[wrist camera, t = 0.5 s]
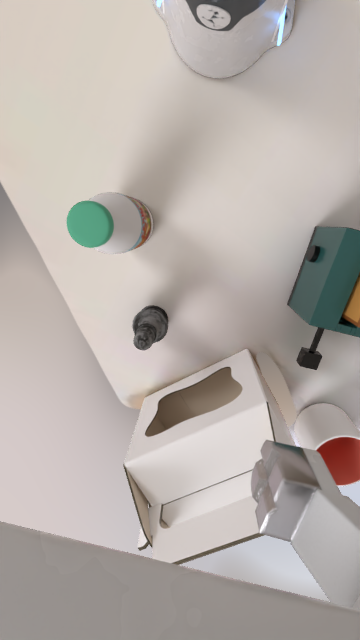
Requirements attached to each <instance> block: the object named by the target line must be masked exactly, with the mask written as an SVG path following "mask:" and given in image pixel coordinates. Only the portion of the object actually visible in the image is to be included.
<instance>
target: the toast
mask: <svg viewBox="0 0 360 640" xmlns="http://www.w3.org/2000/svg"><path fill="white" fill-rule="evenodd" d="M342 317H344V318H345V319H347V320H348V321H350V322H351V323H353V324H354V325H356V326H357V327H360V273H359V275H358V278H357V280H356V283H355V285H354V287H353V290H352V292H351V294H350V297H349V299H348V301H347V304H346V306H345V309H344V311H343V313H342Z"/></svg>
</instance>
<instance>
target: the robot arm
mask: <svg viewBox="0 0 360 640" xmlns="http://www.w3.org/2000/svg"><path fill="white" fill-rule="evenodd" d="M152 1H153V5H154V7H155V9H156V11H157V12H158V13H159V15H160V16H161V17H162V19H163V20H164V21H165V22H166V24H167V27H168V30H169V33H170V36H171V40H172V42H173V45H174V47H175V49H176V51H177V53H178V54H179V56H180V57H181V59H182V60H183V61H184V62H185V63H186V64H187V66H189V67H190V68H191V69H192V70H194V71H195V72H197V73H199V74H201V75H203V76H206V77H211V78H227V77H231V76H234V75H237V74H239V73H241V72H243V71H245V70H246V69H248V68H249V67H250V66H251V65H253V64H254V63H255V62H256V61H257V60H258V59H259V58H260V56H261V55H262V54H263V53H264V52H265V51H267V50H268V49H270V48H272V47H275V46H277V45H278V46H280V44H281V43H283V42H284V41H285V40H287V39H288V37H289V35H290V33H291V29H292V24H293V16H294V8H295V0H152ZM285 17H286V20H284V19H285ZM260 451H261V455H262V459H260V460H259V461H257V462H256V463H255V466H254V468H253V471H252V477H251V492H252V497H253V498H254V499H255V501H256V502H257V503H258V505H257V507H256V510H255V513H256V518H257V523H258V528H259V533H260V534H264V535H267V536H271V537H274V538H278V539H282V540H285V541H289V542H291V545H292V546H293V548H294V550H295V551H296V552H297V554H298V555H299V557H300V558H301V560H302V561H303V563H304V564H305V566H306V567H307V568H308V570H309V571H310V573H311V574H312V576H313V577H314V579H315V580H316V582H317V583H318V584H319V586H320V587H321V589H322V590H323V592H324V593H325V595H326V596H327V598H328V599H329V600H330V602H328V601H324V600H320V599H315V598H311V597H307V596H303V595H298V594H295V593H291V592H286V591H282V590H278V589H274V588H270V587H266V586H261V585H257V584H253V583H249V582H245V581H241V580H237V579H233V578H229V577H225V576H221V575H217V574H213V573H209V572H205V571H201V570H196V569H192V568H188V567H184V566H180V565H176V564H172V563H168V562H164V561H160V560H156V559H152V558H148V557H144V556H140V555H136V554H132V553H128V552H124V551H119V550H115V549H111V548H107V547H103V546H99V545H94V544H91V543H87V542H83V541H78V540H74V539H70V538H66V537H62V536H58V535H54V534H50V533H45V532H41V531H37V530H33V529H29V528H25V527H21V526H17V525H13V524H8V523H5V522H1V521H0V640H360V507H359V506H358V505H357V504H355V503H354V502H353V501H352V500H351V499H350V498H349V497H347V496H343V495H342V494H341V492H340V490H339V488H338V487H337V485H336V483H335V481H334V479H333V477H332V475H331V473H330V472H329V470H328V468H327V466H326V464H325V462H324V460H323V458H322V457H321V455H320V453H319V452H317V451H316V450H311V449H307V448H302V447H296V446H292V445H288V444H283V443H279V442H275V441H270V440H266V441H265V442H264V443H263V446H262V448H261V450H260Z"/></svg>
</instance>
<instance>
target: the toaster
mask: <svg viewBox="0 0 360 640" xmlns="http://www.w3.org/2000/svg"><path fill="white" fill-rule="evenodd" d="M359 273H360V231H359V230H355V229H351V228H346V227H317V226H316V227H315V229H314V232H313V235H312V237H311V240H310V243H309V246H308V248H307V251H306V254H305V257H304V259H303V262H302V265H301V268H300V271H299V273H298V276H297V279H296V282H295V284H294V287H293V290H292V293H291V295H290V298H289V301H288V304H287V305H289V306H290V307H291V308H292V309H293V310H294V311H295V312H296V313H297V314H298V315H299V316H300V317H301V318H302V319H303V320H305V321H306V322H307V323H308V324H309V325H312V326H316V327H320V328H324V329H328V330H332V331H336V332H340V333H344V334H348V335H352V336H356V337H360V327H357V326H356V325H354V324H353V323H351V322H350V321H348V320H347V319H345V318H344V317H342V313H343V311H344V309H345V306H346V304H347V301H348V299H349V297H350V294H351V292H352V290H353V287H354V285H355V283H356V280H357V278H358V275H359Z"/></svg>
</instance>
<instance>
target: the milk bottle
mask: <svg viewBox="0 0 360 640" xmlns="http://www.w3.org/2000/svg"><path fill="white" fill-rule="evenodd" d="M67 228H68V231H69V233H70V235H71V237H72V238H73V239H74V240H75V241H76V242H77V243H78V244H80V245H82V246H84V247H89V248H94V249H96V250H97V251H100V252H102V253H106V254H120V253H124V252H127V251H130V250H133V249H135V248H138V247H140V246H142V245H143V244H145V243H146V242H147V241H148V239H149V238H150V236H151V234H152V231H153V218H152V215H151V213H150V211H149V209H148V208H147V207H146V206H145V205H144V204H143V203H142V202H140V201H139V200H136V199H134V198H131V197H128V196H125V195H122V194H118V193H112V192H107V193H101V194H98V195H96V196H94V197H92V198H91V199H89V200H88V201H82V202H79V203H77V204H76V205H74V206H73V207H72V208H71V210H70V211H69V213H68V216H67Z"/></svg>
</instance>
